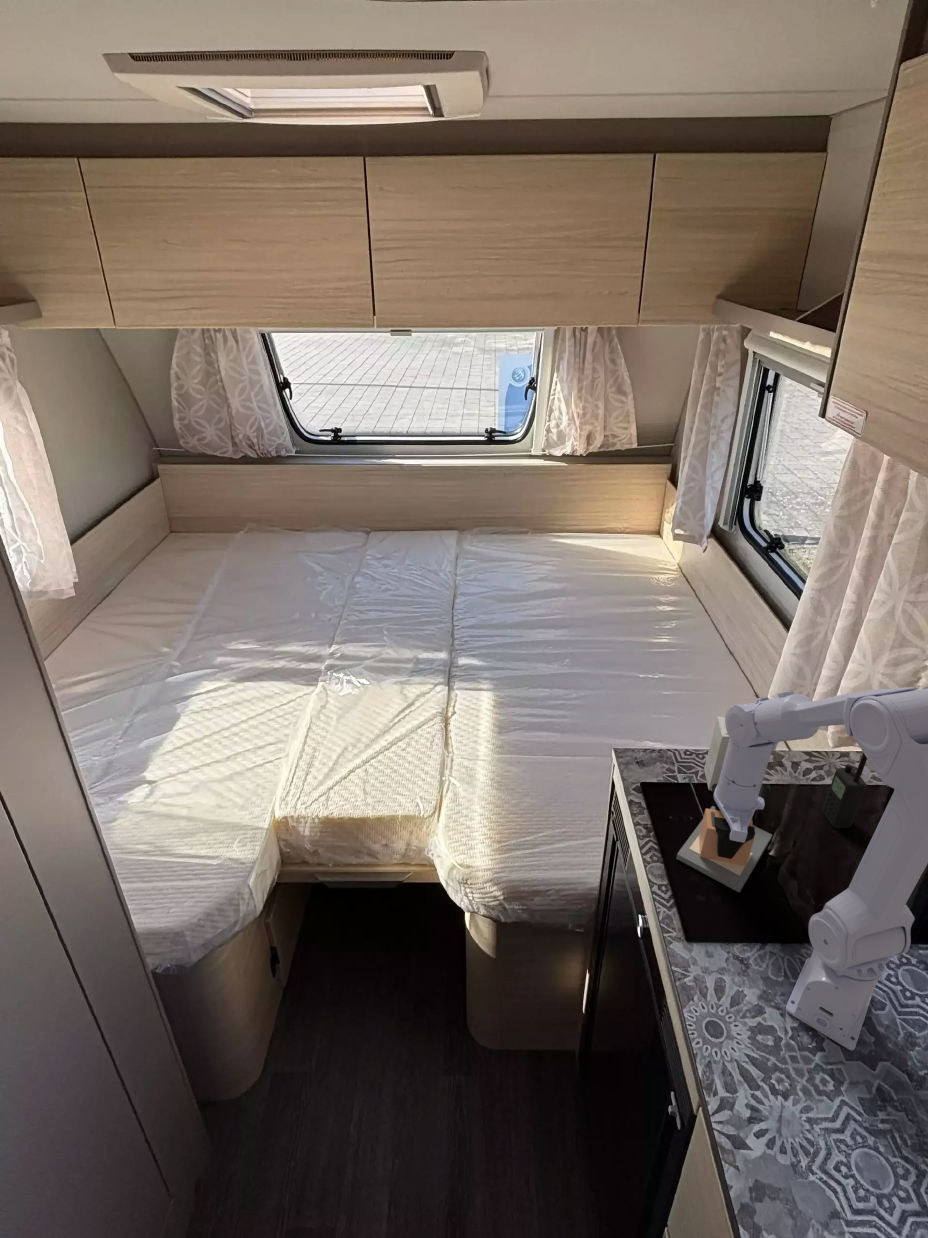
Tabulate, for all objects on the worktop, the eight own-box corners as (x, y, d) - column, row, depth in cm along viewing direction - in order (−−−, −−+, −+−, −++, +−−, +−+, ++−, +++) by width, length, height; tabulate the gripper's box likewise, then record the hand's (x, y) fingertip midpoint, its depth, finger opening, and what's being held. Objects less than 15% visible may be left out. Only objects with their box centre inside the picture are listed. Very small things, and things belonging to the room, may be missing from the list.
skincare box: (733, 794, 123) (748, 739, 117) (708, 791, 123) (721, 736, 118) (727, 771, 128) (741, 718, 122) (703, 768, 128) (716, 715, 123)
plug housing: (746, 866, 107) (754, 837, 104) (699, 857, 108) (707, 827, 105) (743, 845, 111) (751, 816, 108) (698, 836, 112) (705, 807, 109)
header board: (739, 892, 104) (745, 873, 102) (676, 858, 109) (680, 839, 107) (770, 839, 113) (776, 820, 111) (711, 810, 119) (716, 791, 117)
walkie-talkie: (819, 809, 120) (844, 739, 113) (838, 808, 120) (864, 739, 113) (834, 830, 116) (861, 758, 108) (854, 829, 116) (882, 758, 109)
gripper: (778, 813, 95) (755, 884, 102) (765, 748, 108) (746, 814, 114) (723, 803, 97) (705, 873, 103) (717, 740, 109) (701, 806, 115)
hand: (723, 842), depth 109 cm, fingers open, 5 cm apart
